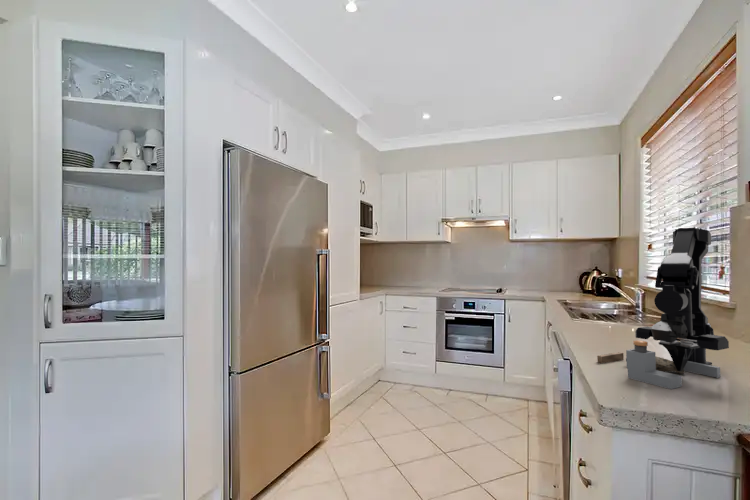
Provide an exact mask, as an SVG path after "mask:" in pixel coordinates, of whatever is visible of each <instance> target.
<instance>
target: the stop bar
mask: <svg viewBox="0 0 750 500" xmlns="http://www.w3.org/2000/svg"><path fill="white" fill-rule="evenodd" d="M624 356H625V355H624V352H621V351H618V352H612V353H606V354H599V355H597V356H596V357H597V363H598V364H607V363H612V362H613V363H614V362H620V361H623V360H625V359H624Z"/></svg>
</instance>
